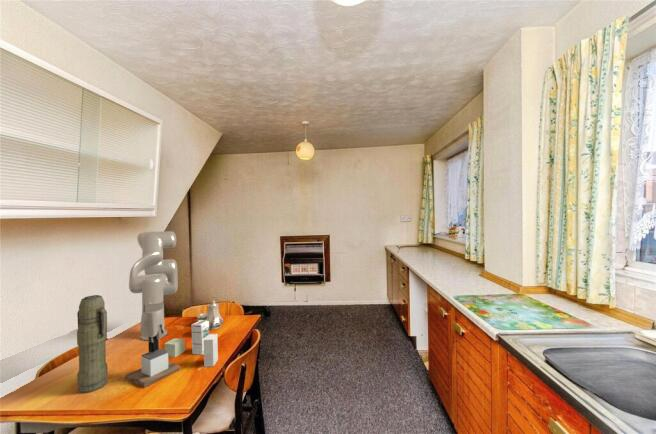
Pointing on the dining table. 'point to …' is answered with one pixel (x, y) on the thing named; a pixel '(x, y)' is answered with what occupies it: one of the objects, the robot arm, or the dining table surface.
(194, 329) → the syrup box
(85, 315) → the thermos
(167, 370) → the walnut steps
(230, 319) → the dining table surface
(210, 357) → the skincare box
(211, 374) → the dining table surface
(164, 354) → the light grey block
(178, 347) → the sage block
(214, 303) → the chinaware
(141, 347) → the dining table surface
